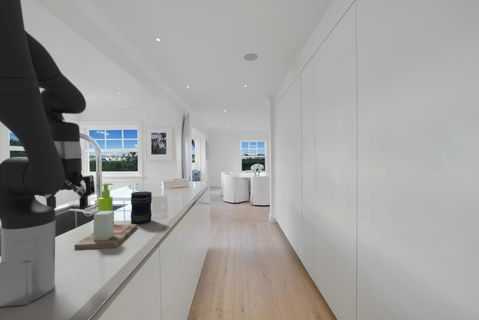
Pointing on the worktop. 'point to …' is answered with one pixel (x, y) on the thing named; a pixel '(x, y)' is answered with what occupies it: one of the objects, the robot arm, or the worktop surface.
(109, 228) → the pale mint tall block
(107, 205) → the lime green stepped cylinder
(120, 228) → the terracotta pad
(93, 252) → the worktop surface
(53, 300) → the worktop surface
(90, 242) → the walnut board
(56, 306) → the worktop surface
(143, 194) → the dark blue ridged cylinder
